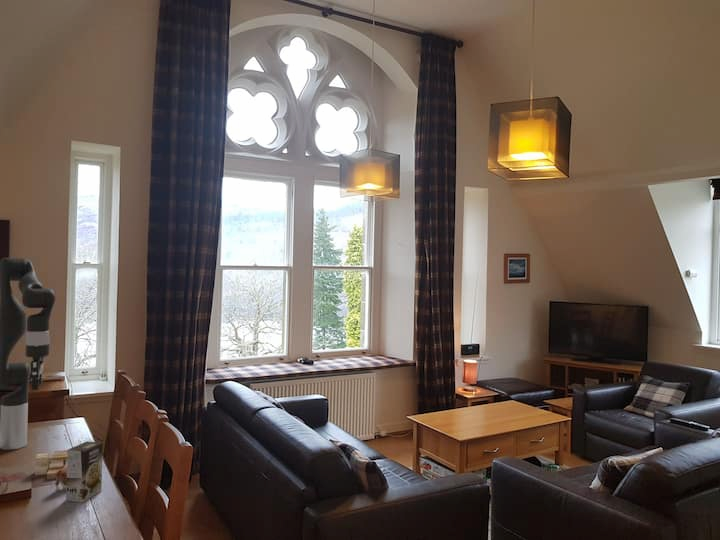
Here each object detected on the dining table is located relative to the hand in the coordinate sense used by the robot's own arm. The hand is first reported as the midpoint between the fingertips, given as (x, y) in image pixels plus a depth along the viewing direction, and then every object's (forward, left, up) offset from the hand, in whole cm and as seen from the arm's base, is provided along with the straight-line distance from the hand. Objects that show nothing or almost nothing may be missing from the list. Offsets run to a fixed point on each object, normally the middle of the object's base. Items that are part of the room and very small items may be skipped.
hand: (36, 387), depth 201 cm
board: (+6, +9, -28) cm, 30 cm away
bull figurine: (+26, +14, -28) cm, 41 cm away
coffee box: (+37, +18, -28) cm, 50 cm away
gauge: (+11, +7, -28) cm, 31 cm away
